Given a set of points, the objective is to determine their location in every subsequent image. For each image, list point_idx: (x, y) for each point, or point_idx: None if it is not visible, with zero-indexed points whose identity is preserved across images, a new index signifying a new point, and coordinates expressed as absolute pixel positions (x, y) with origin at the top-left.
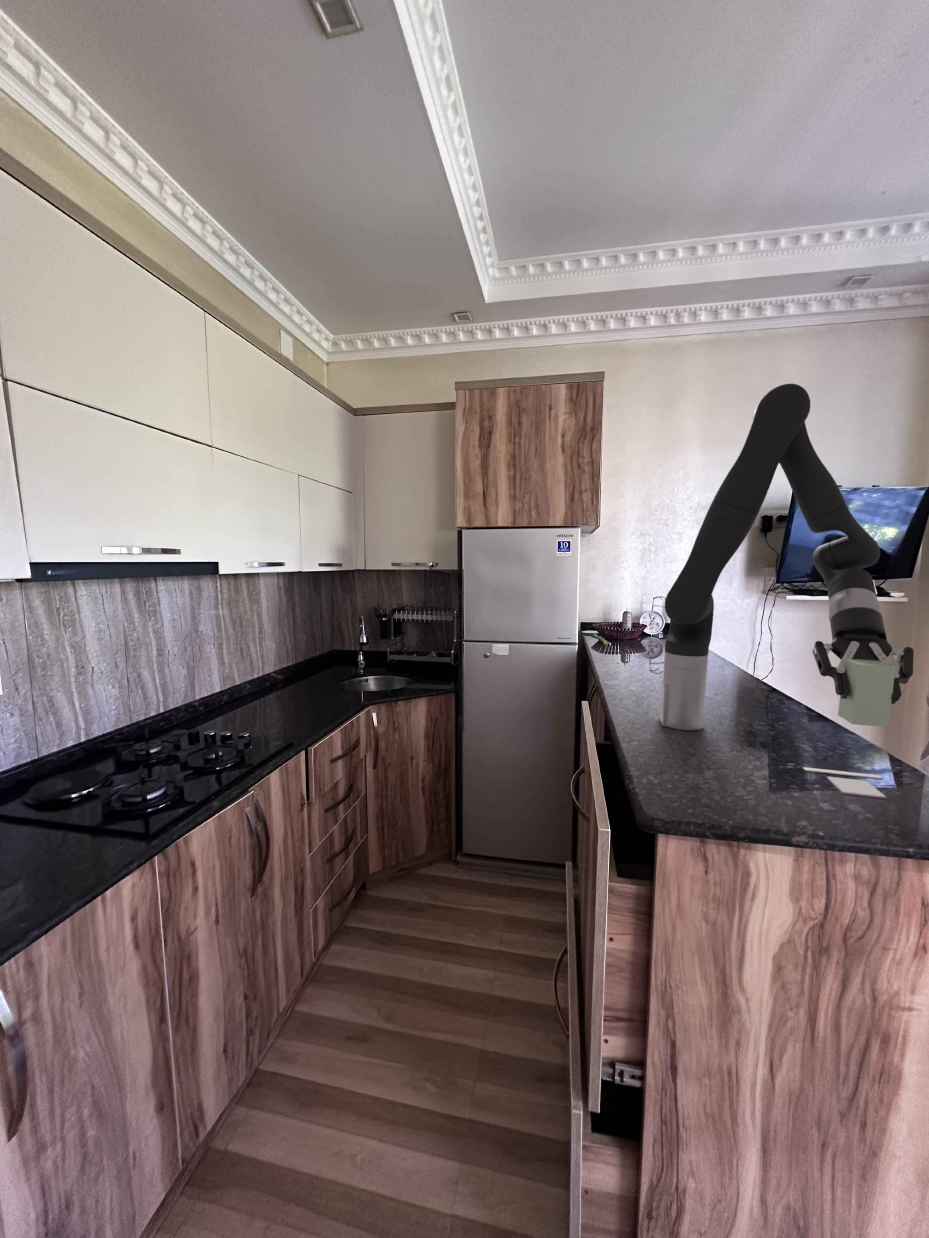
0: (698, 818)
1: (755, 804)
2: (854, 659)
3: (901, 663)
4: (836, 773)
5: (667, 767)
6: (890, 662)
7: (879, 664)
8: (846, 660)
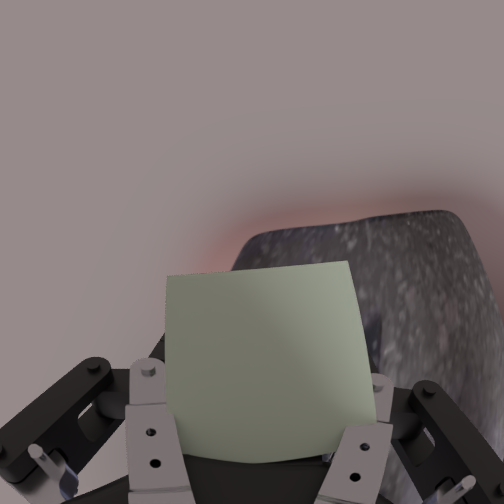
0: (429, 220)
1: (394, 270)
2: (325, 439)
3: (71, 443)
4: None
5: (477, 332)
6: (129, 407)
7: (227, 314)
8: (372, 407)
